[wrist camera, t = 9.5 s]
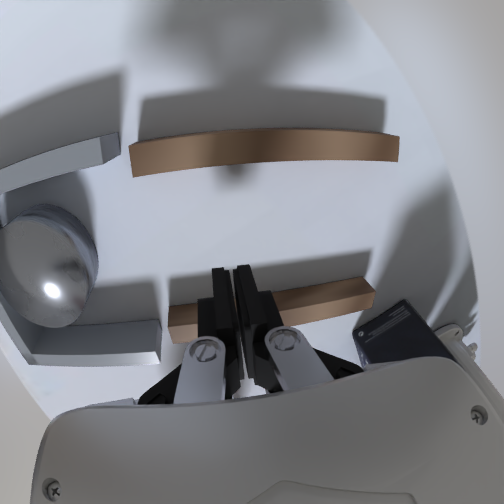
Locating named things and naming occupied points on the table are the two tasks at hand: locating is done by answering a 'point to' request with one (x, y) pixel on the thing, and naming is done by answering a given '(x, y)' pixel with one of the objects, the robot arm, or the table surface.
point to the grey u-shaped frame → (85, 336)
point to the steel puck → (47, 265)
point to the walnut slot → (269, 150)
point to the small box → (398, 338)
